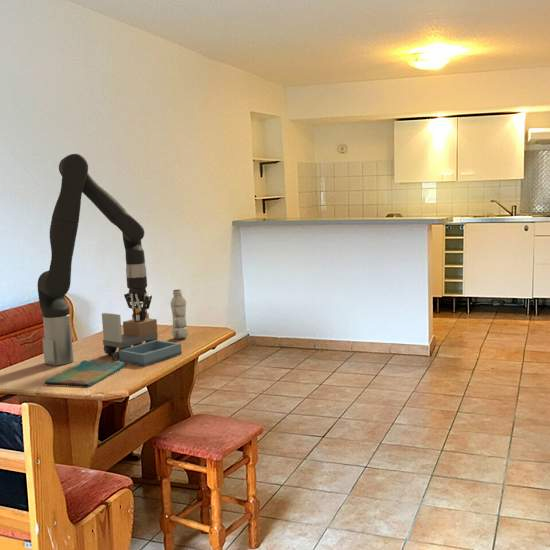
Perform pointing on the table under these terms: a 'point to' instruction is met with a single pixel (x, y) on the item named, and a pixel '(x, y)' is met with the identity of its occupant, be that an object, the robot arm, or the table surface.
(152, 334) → the trolley
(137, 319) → the stop pin
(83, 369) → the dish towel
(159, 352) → the tray
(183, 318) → the plastic bottle
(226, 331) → the table surface
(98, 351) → the table surface
